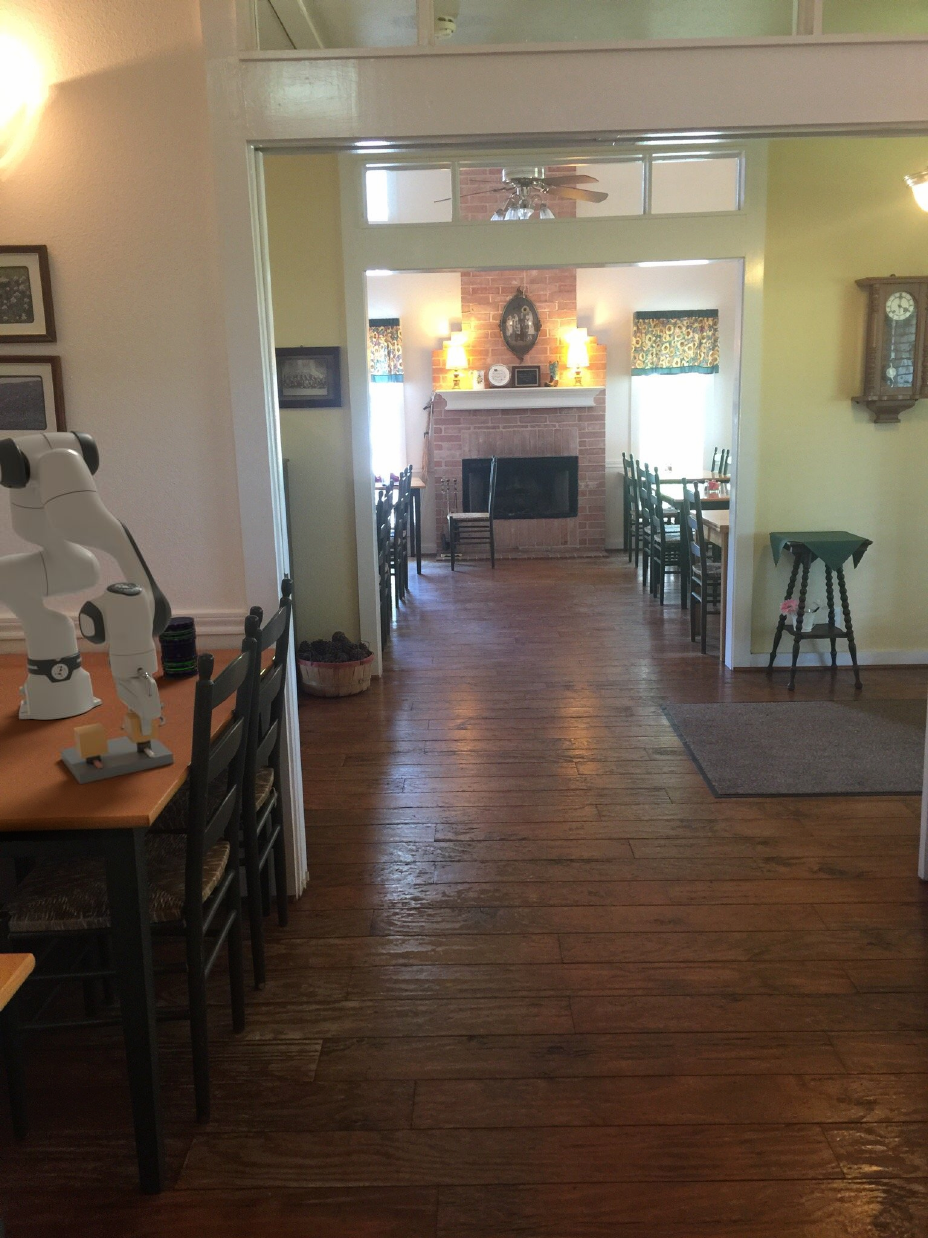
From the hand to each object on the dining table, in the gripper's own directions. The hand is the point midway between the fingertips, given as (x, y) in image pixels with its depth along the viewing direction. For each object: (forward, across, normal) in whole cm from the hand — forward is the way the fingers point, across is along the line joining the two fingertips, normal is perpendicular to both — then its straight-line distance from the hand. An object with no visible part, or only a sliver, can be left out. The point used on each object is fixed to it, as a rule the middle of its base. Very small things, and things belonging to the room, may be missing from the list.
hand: (142, 730), depth 199 cm
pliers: (+7, +31, -8) cm, 33 cm away
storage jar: (+7, +64, -27) cm, 70 cm away
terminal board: (+6, +3, +5) cm, 9 cm away
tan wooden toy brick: (+2, 0, 0) cm, 2 cm away
